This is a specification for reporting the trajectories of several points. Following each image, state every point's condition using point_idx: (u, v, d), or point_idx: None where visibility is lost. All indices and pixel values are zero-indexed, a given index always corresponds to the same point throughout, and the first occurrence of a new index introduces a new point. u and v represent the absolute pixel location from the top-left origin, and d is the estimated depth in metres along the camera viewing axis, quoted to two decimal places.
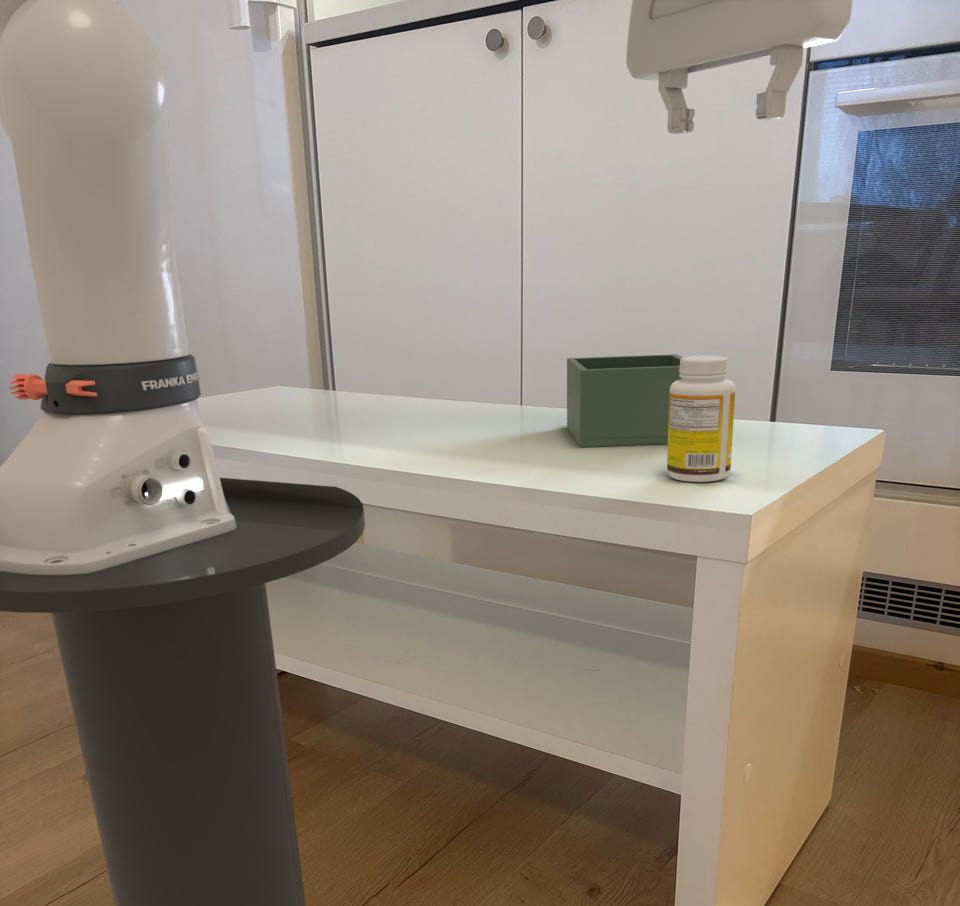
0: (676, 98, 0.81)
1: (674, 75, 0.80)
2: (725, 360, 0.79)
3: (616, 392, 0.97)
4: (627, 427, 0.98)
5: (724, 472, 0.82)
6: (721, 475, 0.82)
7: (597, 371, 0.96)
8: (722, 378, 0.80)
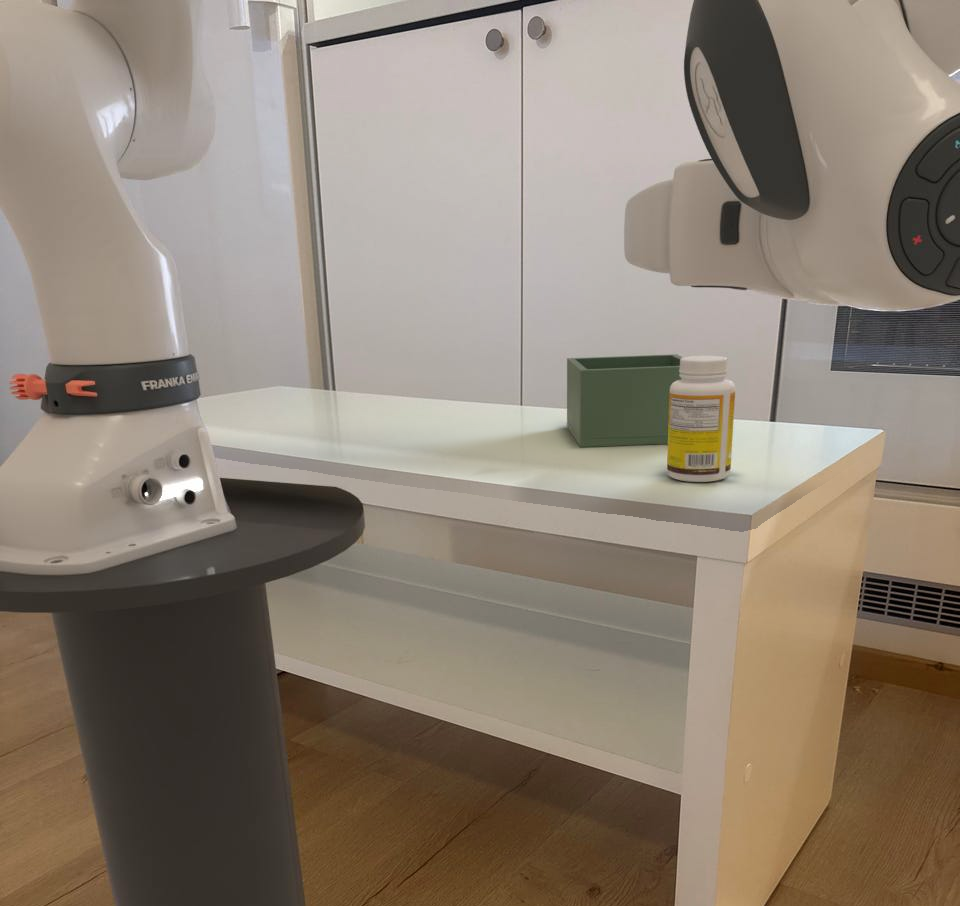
0: None
1: None
2: (725, 360, 0.79)
3: (616, 392, 0.97)
4: (627, 427, 0.98)
5: (724, 472, 0.82)
6: (721, 475, 0.82)
7: (597, 371, 0.96)
8: (722, 378, 0.80)
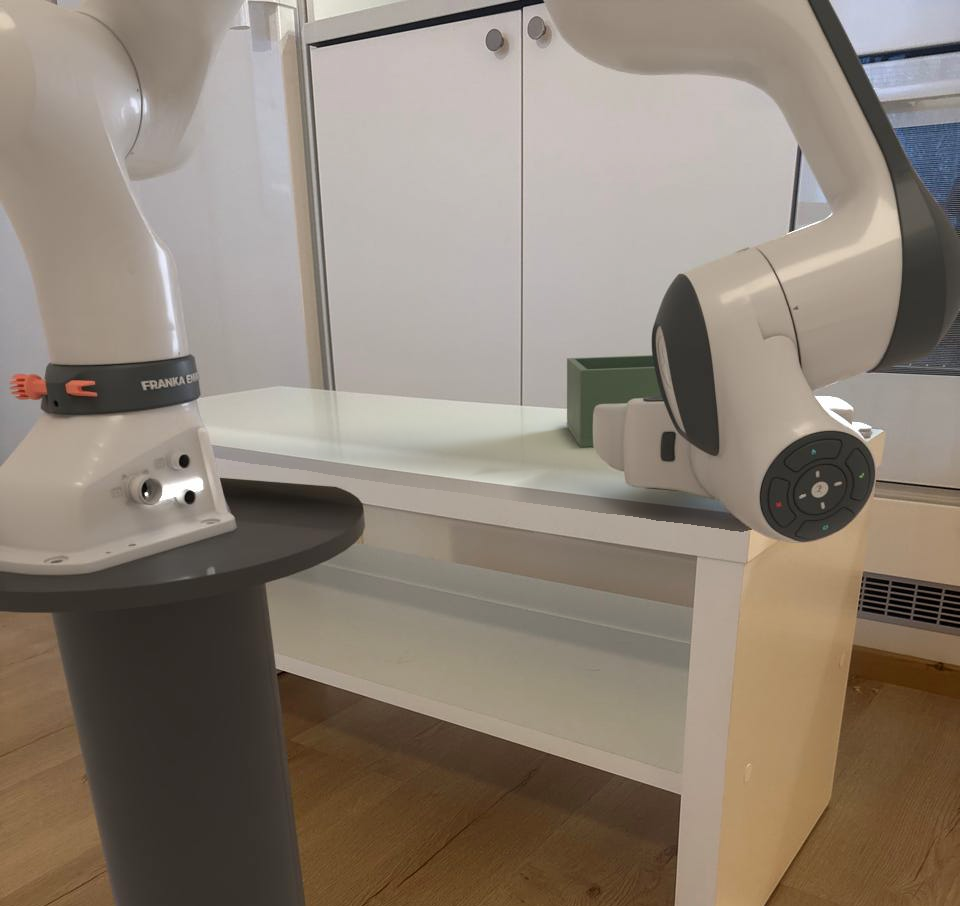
0: None
1: None
2: None
3: (616, 392, 0.97)
4: None
5: None
6: None
7: (597, 371, 0.96)
8: None
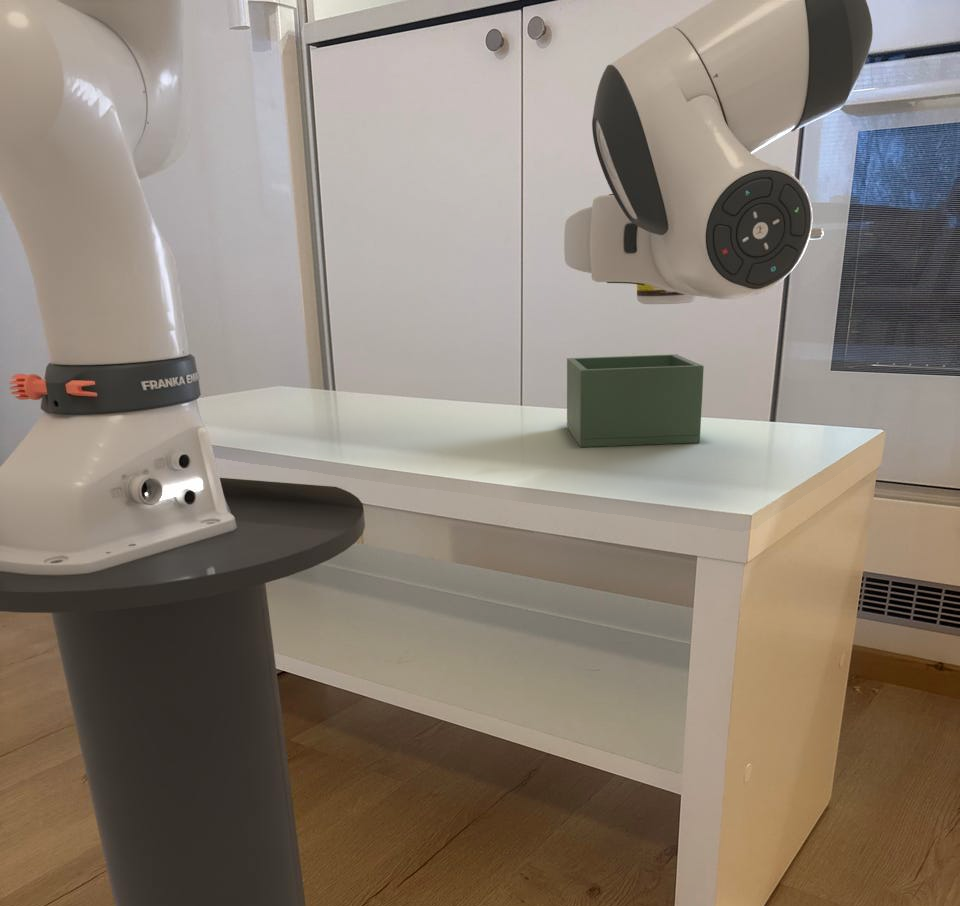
0: None
1: None
2: None
3: (616, 392, 0.97)
4: (627, 427, 0.98)
5: None
6: (687, 297, 0.87)
7: (597, 371, 0.96)
8: None
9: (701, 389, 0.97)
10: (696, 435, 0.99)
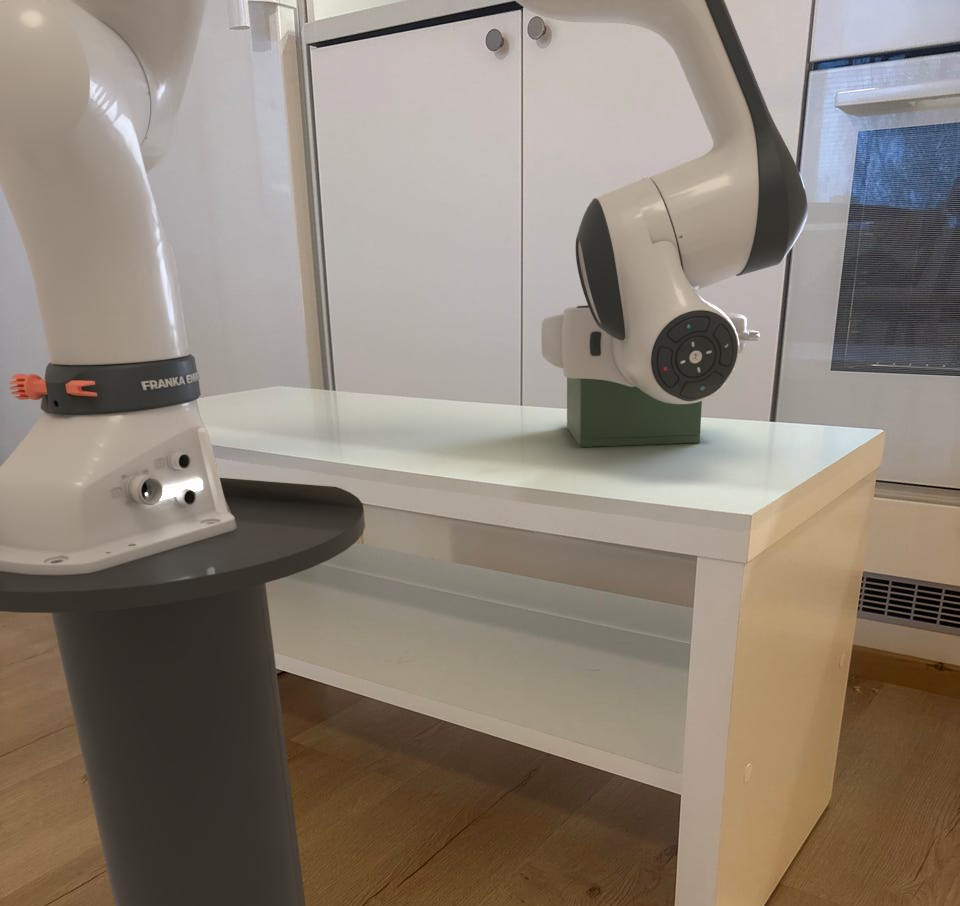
0: None
1: None
2: None
3: (616, 392, 0.97)
4: (627, 427, 0.98)
5: None
6: None
7: None
8: None
9: None
10: (696, 435, 0.99)
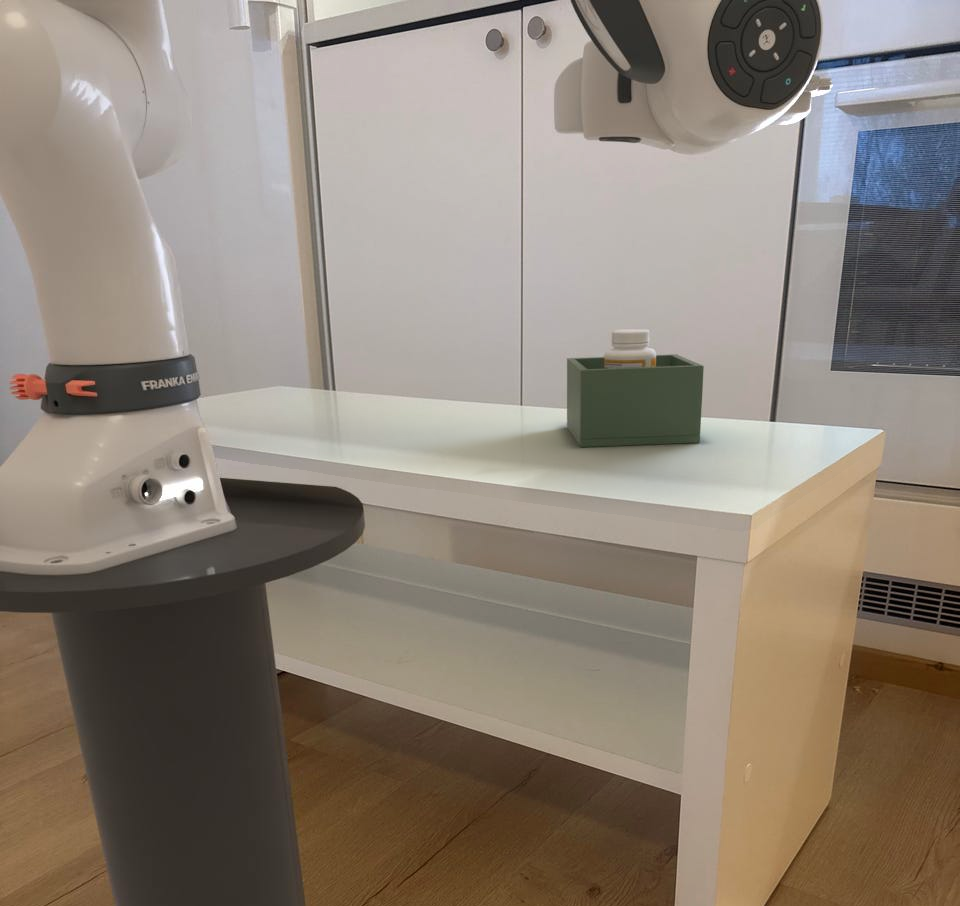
0: None
1: None
2: (647, 332, 1.00)
3: (616, 392, 0.97)
4: (627, 427, 0.98)
5: None
6: None
7: (597, 371, 0.96)
8: (645, 346, 1.00)
9: (701, 389, 0.97)
10: (696, 435, 0.99)
